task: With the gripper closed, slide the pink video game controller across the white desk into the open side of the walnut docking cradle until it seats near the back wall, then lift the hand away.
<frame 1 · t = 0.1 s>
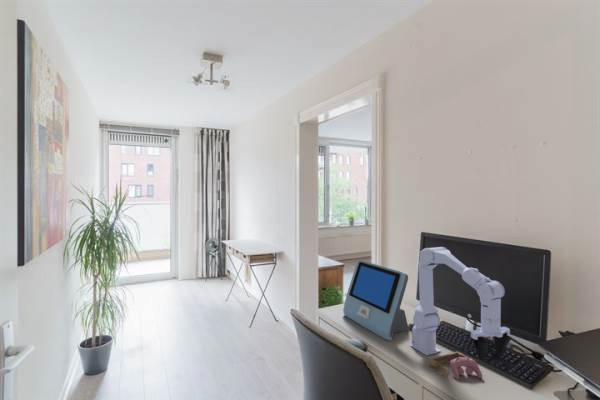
hand: (490, 357, 108), 10 cm above the table, tool pointing down, fingers open, 7 cm apart
docking cradle: (452, 367, 119), on the table
touchscreen device: (376, 324, 160), on the table
video game controller: (465, 376, 114), on the table
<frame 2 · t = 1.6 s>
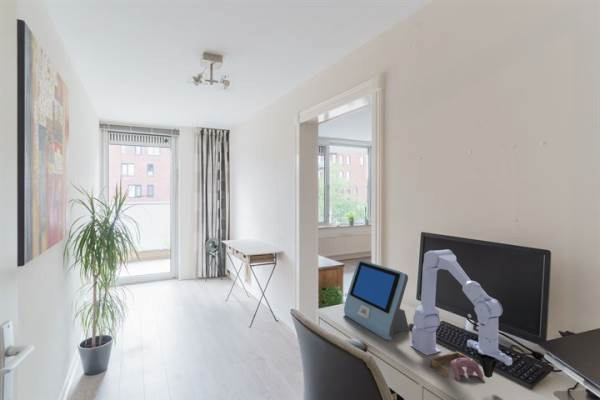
hand: (488, 376, 107), 4 cm above the table, tool pointing down, fingers closed
nothing on the table moved.
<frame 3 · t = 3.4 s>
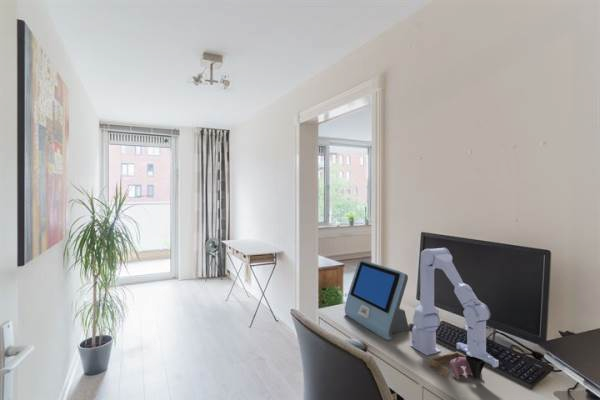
hand: (476, 377, 111), 1 cm above the table, tool pointing down, fingers closed
video game controller: (465, 376, 114), on the table, touching gripper
everything else where it was.
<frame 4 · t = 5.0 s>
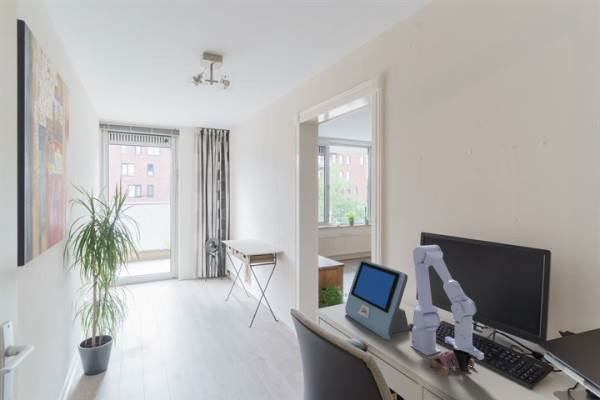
hand: (463, 370, 115), 1 cm above the table, tool pointing down, fingers closed
video game controller: (453, 369, 119), on the table, touching gripper
everything else where it was.
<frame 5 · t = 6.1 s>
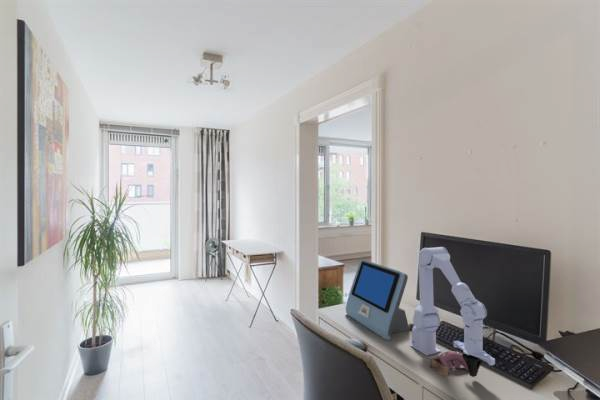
hand: (473, 375, 112), 1 cm above the table, tool pointing down, fingers closed
video game controller: (453, 369, 119), on the table
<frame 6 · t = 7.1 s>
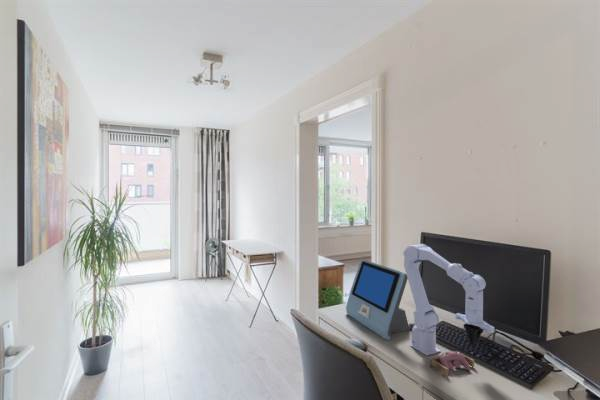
hand: (473, 344, 118), 9 cm above the table, tool pointing down, fingers closed
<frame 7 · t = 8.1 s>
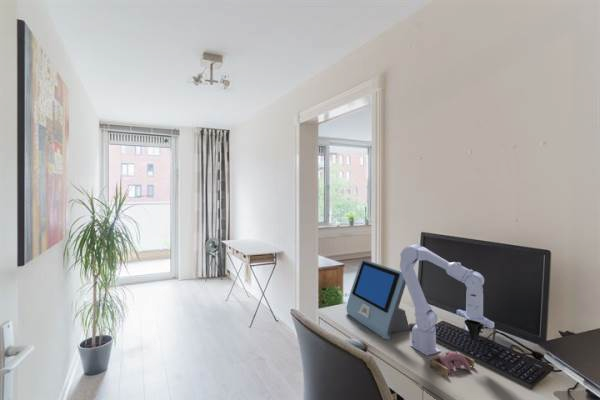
hand: (474, 339, 122), 9 cm above the table, tool pointing down, fingers closed
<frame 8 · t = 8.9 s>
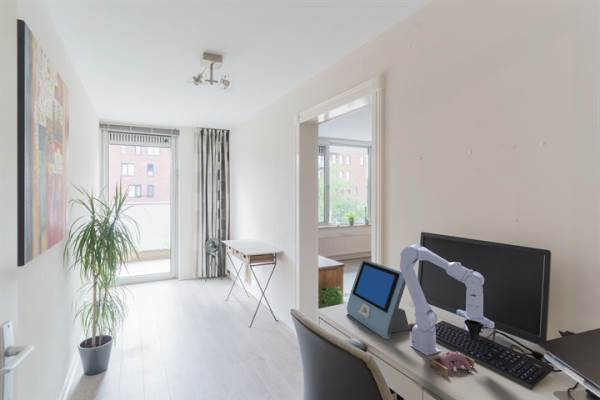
hand: (474, 339, 122), 9 cm above the table, tool pointing down, fingers closed
at the end: video game controller 0.7 cm off-centre on the docking cradle, point 0.0 cm above the docking cradle's base; video game controller moved 4.3 cm from its start; the gripper is holding nothing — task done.
